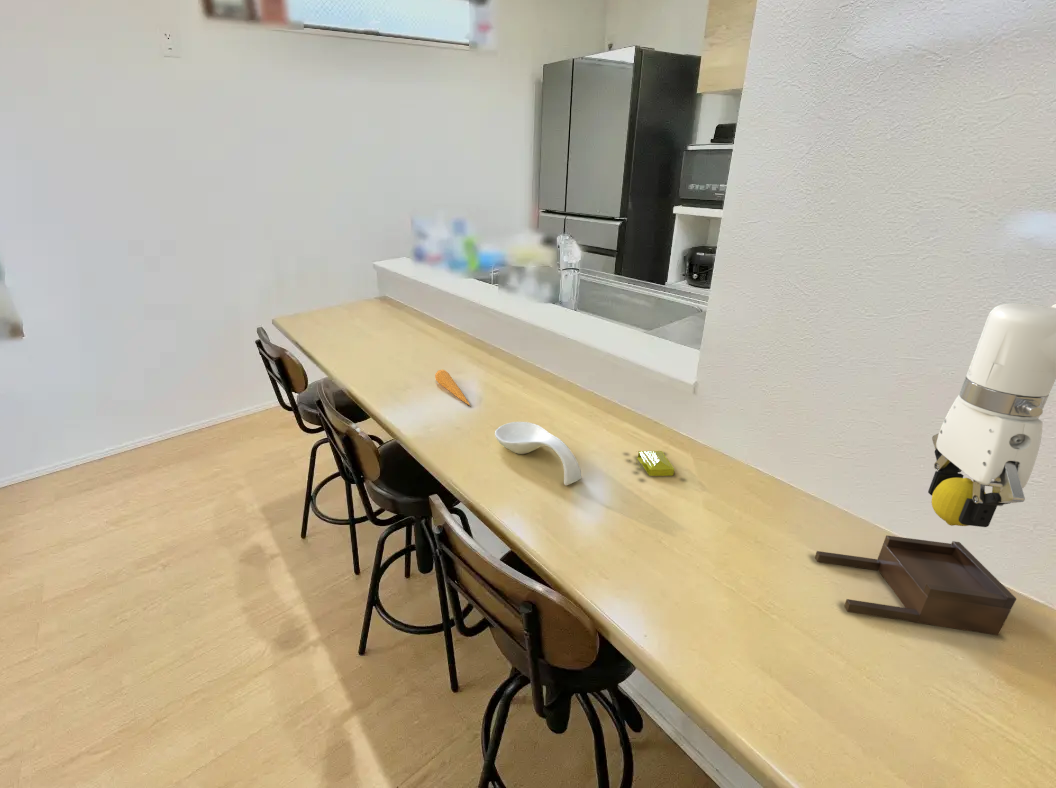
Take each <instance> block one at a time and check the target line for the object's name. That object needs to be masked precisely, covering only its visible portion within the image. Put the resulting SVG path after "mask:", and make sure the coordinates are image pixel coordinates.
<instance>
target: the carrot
mask: <svg viewBox="0 0 1056 788" xmlns="http://www.w3.org/2000/svg"><path fill="white" fill-rule="evenodd" d="M434 377H435V381H436V382H437V383H439V385H441V386H442V387H444V388H445V389H446V390H448V391H449V392H450V393H451V394H453V395H454V396H455V397H457V398H458V399H459V400H460V401H462V402H464V403H465V404H466V405H468V406H471V404H470V402H469V401H468V399H467V396H465V394H464V392H463V391H462V390H461V388H460V387H459V386H458V384H457V383H456V381H455V380H454V379H453V377H452V376H451V374H450V373H449V372H448V371H447V370H445V369H438V370H437V371H436V372H435V375H434Z"/></svg>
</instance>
